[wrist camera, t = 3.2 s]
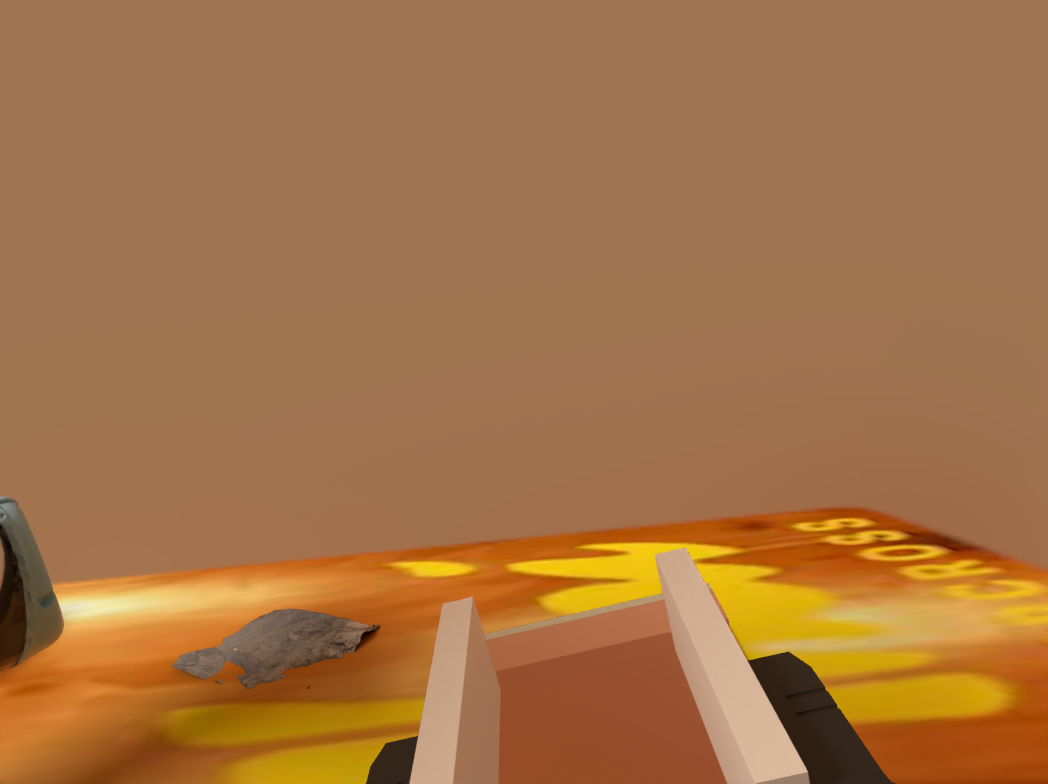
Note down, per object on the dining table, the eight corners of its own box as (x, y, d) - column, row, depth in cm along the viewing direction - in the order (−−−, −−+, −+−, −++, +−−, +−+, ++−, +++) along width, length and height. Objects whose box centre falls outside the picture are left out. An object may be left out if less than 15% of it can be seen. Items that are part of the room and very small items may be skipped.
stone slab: (164, 668, 60) (247, 598, 68) (172, 683, 60) (254, 612, 68) (304, 699, 51) (380, 615, 59) (312, 717, 51) (386, 631, 60)
